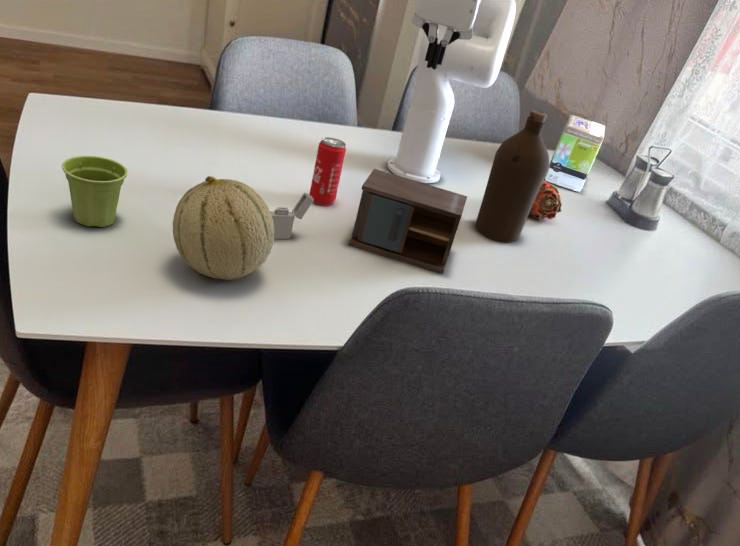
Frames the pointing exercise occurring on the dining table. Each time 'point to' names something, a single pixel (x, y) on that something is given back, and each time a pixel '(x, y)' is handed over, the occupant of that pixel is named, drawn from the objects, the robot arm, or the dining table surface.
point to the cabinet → (416, 219)
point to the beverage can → (327, 171)
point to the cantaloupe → (223, 228)
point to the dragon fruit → (546, 202)
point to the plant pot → (94, 188)
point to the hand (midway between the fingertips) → (431, 67)
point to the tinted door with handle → (385, 222)
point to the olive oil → (514, 182)
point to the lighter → (289, 217)
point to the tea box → (575, 153)
